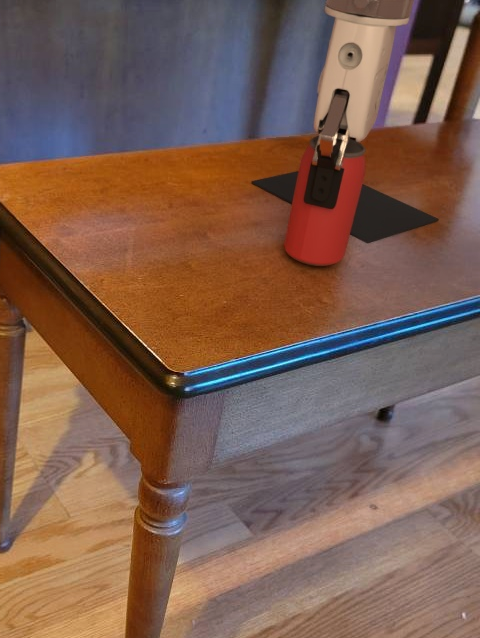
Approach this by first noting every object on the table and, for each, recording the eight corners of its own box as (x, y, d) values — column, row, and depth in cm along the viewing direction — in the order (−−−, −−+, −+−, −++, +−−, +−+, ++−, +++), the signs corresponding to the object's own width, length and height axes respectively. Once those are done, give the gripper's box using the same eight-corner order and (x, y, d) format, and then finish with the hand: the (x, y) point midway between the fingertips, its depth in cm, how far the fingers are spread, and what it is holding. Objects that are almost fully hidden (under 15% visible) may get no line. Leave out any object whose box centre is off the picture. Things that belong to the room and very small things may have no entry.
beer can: (287, 266, 78) (310, 152, 71) (279, 239, 83) (300, 130, 76) (348, 271, 78) (377, 158, 71) (337, 243, 83) (363, 136, 76)
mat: (438, 221, 94) (439, 218, 94) (367, 243, 86) (368, 240, 86) (322, 167, 105) (322, 165, 105) (251, 183, 98) (251, 180, 98)
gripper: (399, 20, 58) (346, 232, 69) (423, -7, 71) (375, 175, 82) (306, 5, 60) (269, 214, 71) (346, -19, 73) (310, 161, 84)
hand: (327, 191), depth 76 cm, fingers closed on beer can, 6 cm apart
